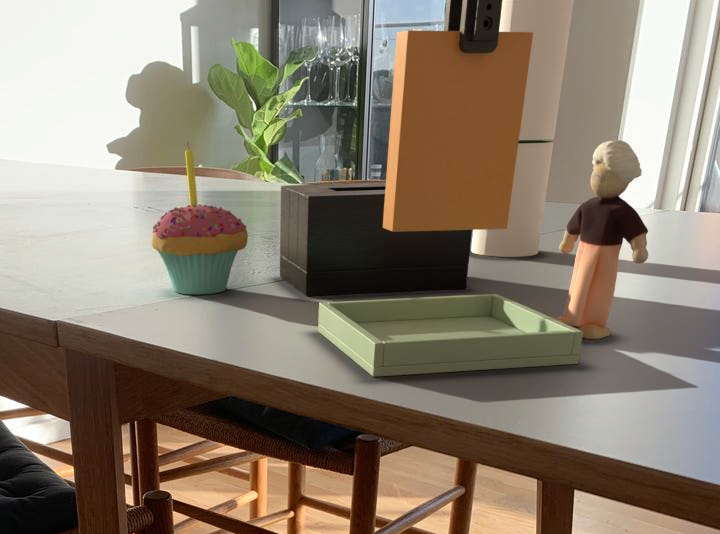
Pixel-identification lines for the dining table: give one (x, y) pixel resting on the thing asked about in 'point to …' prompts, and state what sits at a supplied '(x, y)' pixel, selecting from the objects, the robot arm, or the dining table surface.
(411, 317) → the tray
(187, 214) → the cupcake
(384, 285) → the wooden tissue box
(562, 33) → the cylindrical container
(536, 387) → the dining table surface
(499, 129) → the toast
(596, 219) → the grandmother figurine
